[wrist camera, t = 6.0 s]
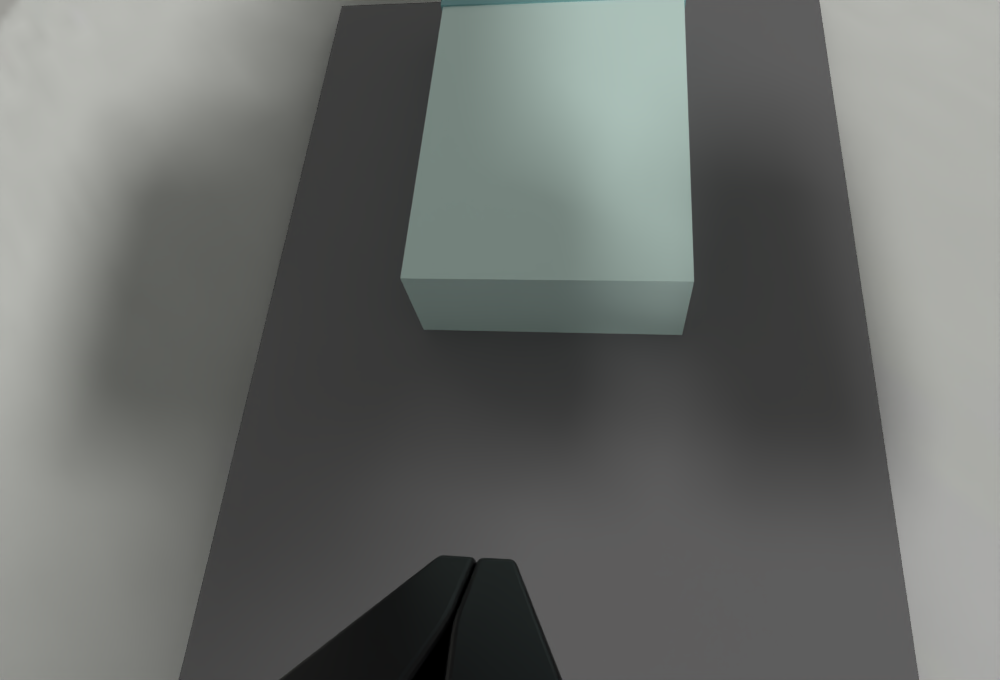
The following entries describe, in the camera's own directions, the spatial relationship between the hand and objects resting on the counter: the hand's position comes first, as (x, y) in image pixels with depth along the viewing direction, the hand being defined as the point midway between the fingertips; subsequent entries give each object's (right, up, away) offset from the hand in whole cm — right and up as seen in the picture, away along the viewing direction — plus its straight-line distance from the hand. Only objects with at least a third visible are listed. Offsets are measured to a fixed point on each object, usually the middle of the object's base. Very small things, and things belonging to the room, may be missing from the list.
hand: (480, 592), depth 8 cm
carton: (+1, +3, +8) cm, 9 cm away
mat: (+1, +2, +9) cm, 9 cm away
